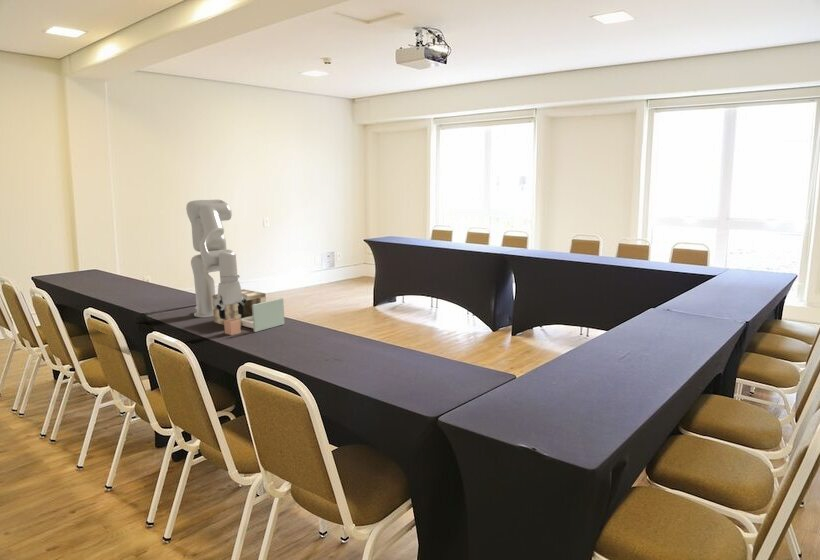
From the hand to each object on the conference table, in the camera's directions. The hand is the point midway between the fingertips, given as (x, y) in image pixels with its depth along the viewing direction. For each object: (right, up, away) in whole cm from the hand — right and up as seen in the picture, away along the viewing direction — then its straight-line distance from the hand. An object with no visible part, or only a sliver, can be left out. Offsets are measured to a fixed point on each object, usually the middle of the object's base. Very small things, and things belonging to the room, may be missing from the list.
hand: (232, 316), depth 261 cm
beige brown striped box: (-3, -4, +23) cm, 23 cm away
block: (0, -8, +2) cm, 8 cm away
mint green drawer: (+8, -5, +14) cm, 17 cm away
